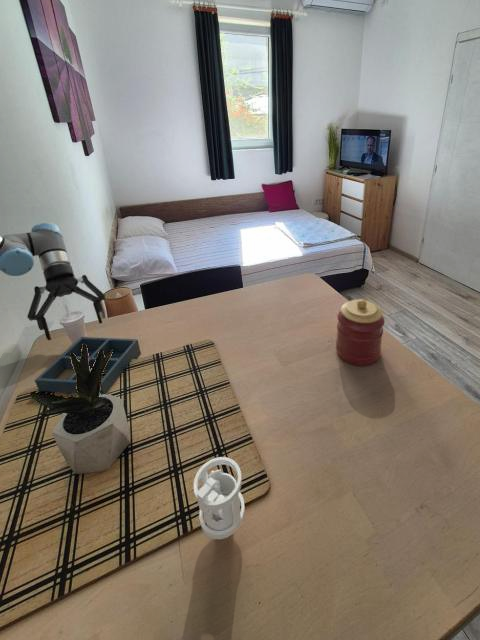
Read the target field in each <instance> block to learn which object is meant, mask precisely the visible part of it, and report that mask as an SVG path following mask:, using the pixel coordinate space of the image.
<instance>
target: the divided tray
mask: <svg viewBox="0 0 480 640" xmlns="http://www.w3.org/2000/svg"><path fill="white" fill-rule="evenodd" d="M83 343H85V344H86V345H87V348H88V353H89V366H90V369H91V368H92V366H93V364H94V362H95V360H96V358H97V355H98V352H99V350H100V349H103V351H104V355H105V356H106V355H107V354H108V353H109V352H110V350H111V349H113V351H112V352H113V353H112V356H111V358H110V359H109V361H108V363H107V365H106V367H105V370H104V371H108V372H107V373H106V374H105V375H104V376H103V377H102V378H101V380H100V381H101V390H100V393H101V394H105V395H106V394H107V392H108V391H109V390H110V389H111V387H112V386H113V384H114V383H115V382H116V381H117V379H118V378H119V377H120V375H121V374H122V373H123V372H124V371H125V369H126V368H127V367H128V365H129V364H130V362H132V360H137V359H138V358H139V357H140V355H141V354H142V352H141V348H140V344H139V339H137V338H117V337H92V336H91V337H90V336H86V337H81V338H80V339H79V340H78V341H77V342H76V343H74V344H72V345H71V346H70V347H69V348H68V349H67V350H65V352H63V353H62V354H61V355H60V356H59V357H58V358H57V359H56V360H55V361H54V362H53V363H52V364H51V365H49V366H48V367H47V368H46V369H45V370H44V371H43V372H42V373H40V375H38V377H36V378H35V379H34V382H35V385H36V387H37V390H38V391H39V392H50V393H51V392H53V393H69V394H78V393H77V389H76V375H75V372H74V373H73V374H72V375H71V376H70V377H69V378H68V379H65V378H63V379H61V378H57V376H59V375H60V374H61V373H62V372H63V371H64V370H65V369H74V368H73V366H72V364H71V359H70V353H74V354H75V355H76V358H77V359H78V360H80V357H82V356H81V349H82V344H83Z"/></svg>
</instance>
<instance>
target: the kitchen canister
mask: <svg viewBox="0 0 480 640" xmlns="http://www.w3.org/2000/svg"><path fill="white" fill-rule="evenodd" d="M336 318H337V324H336V341H335V348H336V353H337V355H338V356H339V358H340V359H341V360H343V361H344V362H345V363H348V364H351V365H353V366H360V367H361V366H369V365H373V364H374V363H376V362H377V361H378V360H379V358H380V356H381V352H382V341H383V340H382V339H383V334H384V325H385V317H384V316H383V310H382V309H381V308H380V307H379V306H378V305H377V304H375V303H374V302H372V301H369V300H366V299H363V298H360V299H352V300H349V301H346V302H344V303H343V304H342V305H341V307H340V309H339V311H338V313H337V317H336Z"/></svg>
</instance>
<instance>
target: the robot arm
mask: <svg viewBox="0 0 480 640" xmlns="http://www.w3.org/2000/svg"><path fill="white" fill-rule="evenodd" d="M30 230H31V231H29V232H21V233H10V234H3V235H4V236H2V237H1V236H0V271H1V272H2V273H3V274H5V275H7V276H10V277H20V276H23V275H26V274H27V273H29V272H31V270H32V269H33V268H34V265H35V259H34V257H36V256H38V259H39V263H40V266H41V270H42V273H43V277H44V280H45V286H38V285H36V286H34V288H33V289H34V290H33V291H34V295H33V298H32V301H31V303H30V307H29V310H28V313H27V315H26V317H27V319H28V320H29V321H30V322H32V321H36V323H37V327H38V329H39V330H40V331H44V334H45V337H46V340H47V341H50V340H52V337H51V333H50V330H49V326H48V322H47V318H45V315H46V313H47V312H48V310H49V309H50V307H51V306H52V304H53V302H54V301H55V300H56V299H57V297H58V298H63V297H64V296H70V295H72V294H73V293H74V294H76V295H79V296H81V297H83V298H85V299H87V300H88V301H91V302H92V304H93V308H94V311H95V314H96V318H97V320H98V324H99V325H100V324H101V325H102V323H103V320H102V317H101V314H100V313H102V312H103V306H102V303H101V302H103V301H104V300H106V294H105V293H104V292H103V291H101V290H100V289H99V288H98V287H97V286H96V285H95V284H93V282H91V281H90V280H89V278H88V276H87V275H86V274H83V275H82V276H80V277H76V276H75V274H74V270H73V267H72V265H71V260H70V256H69V255H68V252H67V248H66V245H65V241H64V238H63V234H62V232H61V230H60V227H59V226H58V225H57V224H55V223H52V222H40V223H39V224H35V225H34V226H33V227H32V228H31V229H30ZM79 283H80V284H82V285H85V287H86V288H87V289H89V290H90V291H91V292H92V293H94V294H92V293H90V292H88V291H86V290H84V289H82V288H80V287H79V286H78V284H79ZM45 291H47V292H48V295H47V297H46V299H45V301H43V304H42V305H41V307H40V309H39V310H38V308H39V306H40V302H41V299H42V295H44V294H45Z"/></svg>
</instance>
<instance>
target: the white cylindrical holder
mask: <svg viewBox="0 0 480 640" xmlns="http://www.w3.org/2000/svg"><path fill="white" fill-rule="evenodd" d="M220 465H224V466H228V467H231V468H232V469H233V471H235V473H236V475H237V480H236V478H235V477H234V476H233V475H232V474H229V473H227V472H223V471H222V470H223V469H221V468H220V469H216V470H211V471H210V473H208V471H209V469H211V468H213V467H215V466H220ZM199 481H200V483H201V487H200V488H199ZM242 484H243V477H242V471H241V468H240V466H239V464H238V463H237V461H235V460H234V459H232V458H230V457H226V456H217V457H214V458H212V459H210V460H208V461H206V462H205V463H203V465H201V466H200V467H199V469H198V470H197V472H196V474H195V476H194V479H193V493H194V497H195V500H196V501H197V503H198V504H197V505H198V508H199V514H198V516H199V517H198V518H199V523H200V527H201V530H202V532H203V533H204V534H205V535H206V536H207V537H208V538H210V539H213V540H224V539H227V538H229V537H230V536H232V535H233V534H235V533H236V532H237V531H238V529H239V528H240V527H241V525H242V523H243V520H244V519H245V513H246V508H245V507H246V506H245V499H244V497H243V494H242V493H241V488H242Z"/></svg>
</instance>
